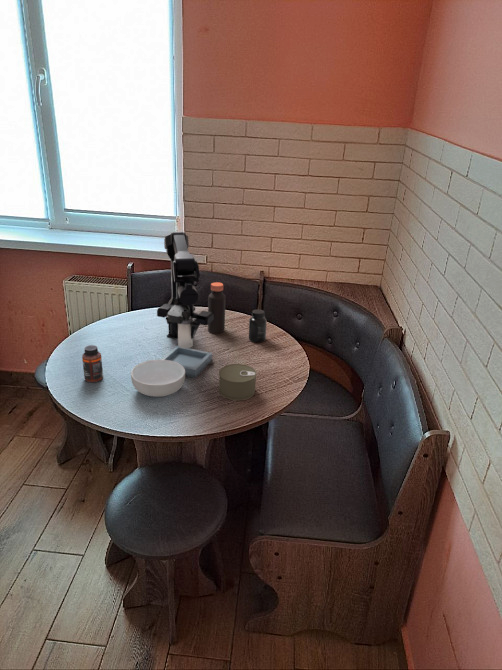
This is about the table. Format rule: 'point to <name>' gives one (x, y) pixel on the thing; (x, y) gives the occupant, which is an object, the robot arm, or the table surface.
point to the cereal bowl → (158, 377)
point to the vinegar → (217, 308)
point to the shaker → (185, 334)
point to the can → (237, 382)
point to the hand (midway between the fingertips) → (185, 337)
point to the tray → (189, 359)
